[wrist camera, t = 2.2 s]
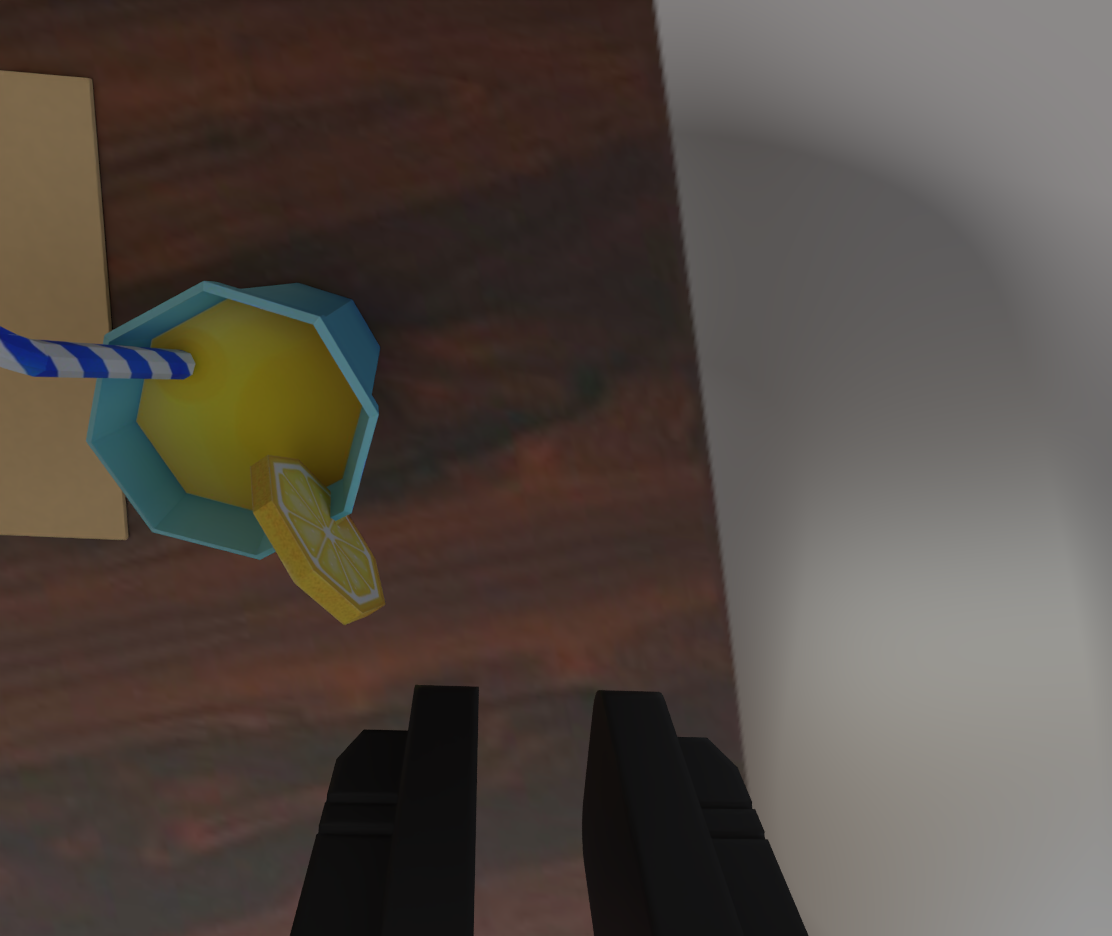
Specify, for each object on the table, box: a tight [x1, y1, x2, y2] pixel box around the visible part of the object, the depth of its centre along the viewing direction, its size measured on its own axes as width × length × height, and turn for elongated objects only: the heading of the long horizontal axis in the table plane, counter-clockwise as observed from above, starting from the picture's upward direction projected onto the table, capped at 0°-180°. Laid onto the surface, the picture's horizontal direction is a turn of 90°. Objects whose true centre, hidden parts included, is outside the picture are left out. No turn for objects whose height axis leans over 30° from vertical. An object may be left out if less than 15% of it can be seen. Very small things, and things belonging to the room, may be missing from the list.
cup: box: [0, 281, 386, 625], centre depth 26 cm, size 14×8×15 cm, turn 49°
